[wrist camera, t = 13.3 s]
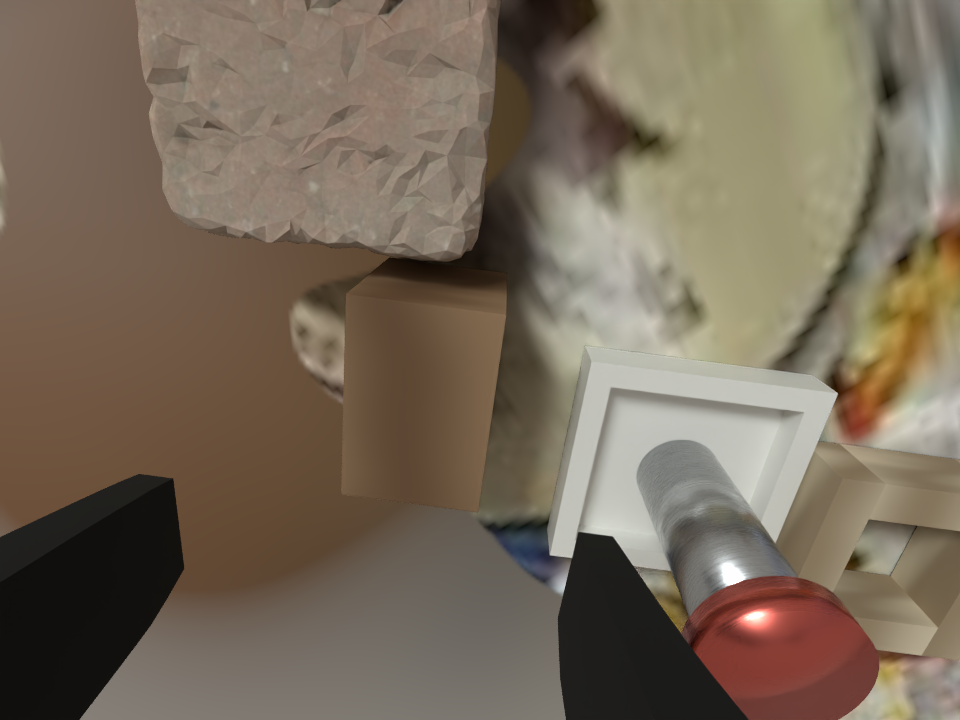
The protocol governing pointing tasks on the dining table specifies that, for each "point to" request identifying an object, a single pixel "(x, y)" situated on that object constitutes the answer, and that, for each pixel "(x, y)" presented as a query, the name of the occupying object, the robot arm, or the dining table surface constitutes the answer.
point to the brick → (325, 118)
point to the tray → (679, 416)
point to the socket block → (892, 498)
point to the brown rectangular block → (421, 382)
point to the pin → (751, 597)
